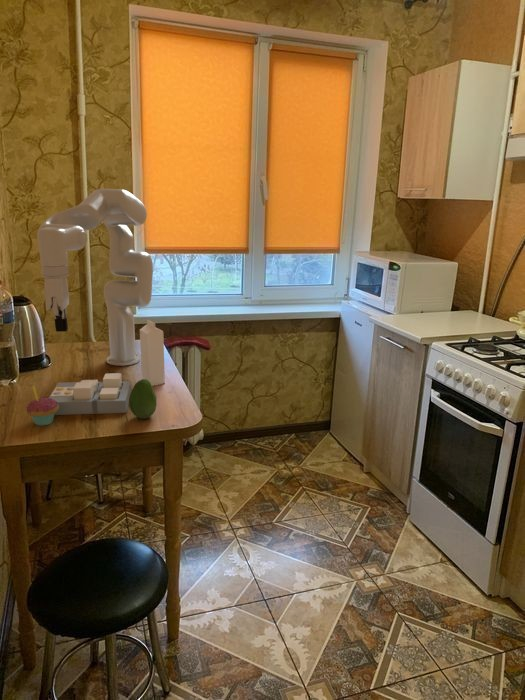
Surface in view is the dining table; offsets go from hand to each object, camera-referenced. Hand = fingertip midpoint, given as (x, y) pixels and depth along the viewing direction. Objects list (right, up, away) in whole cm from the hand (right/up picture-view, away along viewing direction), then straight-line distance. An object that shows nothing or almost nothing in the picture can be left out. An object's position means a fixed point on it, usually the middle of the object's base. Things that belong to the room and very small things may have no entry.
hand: (61, 330), depth 162 cm
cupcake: (-2, -27, -8) cm, 28 cm away
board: (+7, -23, +5) cm, 24 cm away
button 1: (+7, -21, +1) cm, 22 cm away
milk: (+23, -17, +24) cm, 37 cm away
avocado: (+26, -26, -4) cm, 37 cm away
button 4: (+14, -23, +2) cm, 27 cm away
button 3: (+13, -19, +9) cm, 25 cm away
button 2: (+6, -21, +9) cm, 23 cm away
